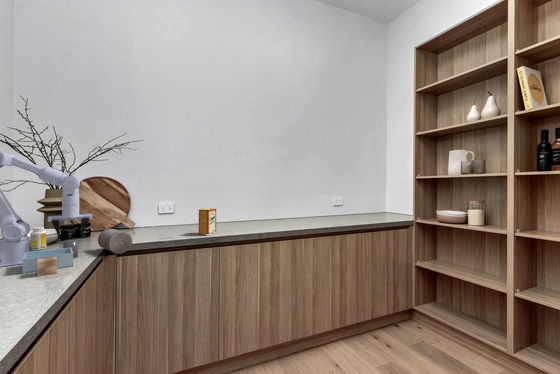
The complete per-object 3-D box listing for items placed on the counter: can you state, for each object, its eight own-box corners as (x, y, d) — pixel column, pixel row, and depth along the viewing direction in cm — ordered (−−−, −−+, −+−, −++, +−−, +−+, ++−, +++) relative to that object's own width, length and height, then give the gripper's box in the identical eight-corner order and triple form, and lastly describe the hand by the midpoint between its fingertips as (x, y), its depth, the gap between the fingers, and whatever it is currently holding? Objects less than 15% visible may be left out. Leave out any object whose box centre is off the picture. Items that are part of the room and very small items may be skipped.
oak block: (37, 277, 90) (37, 262, 90) (37, 273, 94) (37, 258, 94) (56, 273, 93) (56, 259, 93) (56, 270, 97) (56, 256, 97)
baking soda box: (207, 232, 174) (207, 207, 174) (216, 233, 172) (216, 208, 172) (198, 235, 165) (198, 208, 165) (207, 235, 163) (208, 209, 163)
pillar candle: (114, 251, 130) (128, 256, 121) (93, 245, 123) (106, 251, 114) (123, 231, 134) (137, 235, 124) (103, 225, 127) (116, 229, 117)
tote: (22, 273, 92) (22, 259, 92) (24, 265, 101) (24, 252, 101) (73, 266, 101) (73, 252, 101) (71, 259, 110) (71, 247, 110)
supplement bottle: (46, 247, 130) (46, 226, 130) (46, 249, 126) (46, 227, 126) (30, 249, 126) (30, 227, 126) (30, 251, 122) (30, 229, 122)
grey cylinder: (63, 259, 110) (63, 242, 110) (62, 257, 114) (62, 240, 114) (78, 257, 113) (78, 241, 113) (77, 255, 117) (77, 239, 117)
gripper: (48, 206, 105) (48, 241, 106) (93, 204, 115) (93, 236, 115) (47, 205, 111) (48, 238, 111) (90, 203, 120) (90, 234, 120)
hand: (70, 237), depth 113 cm, fingers open, 7 cm apart
